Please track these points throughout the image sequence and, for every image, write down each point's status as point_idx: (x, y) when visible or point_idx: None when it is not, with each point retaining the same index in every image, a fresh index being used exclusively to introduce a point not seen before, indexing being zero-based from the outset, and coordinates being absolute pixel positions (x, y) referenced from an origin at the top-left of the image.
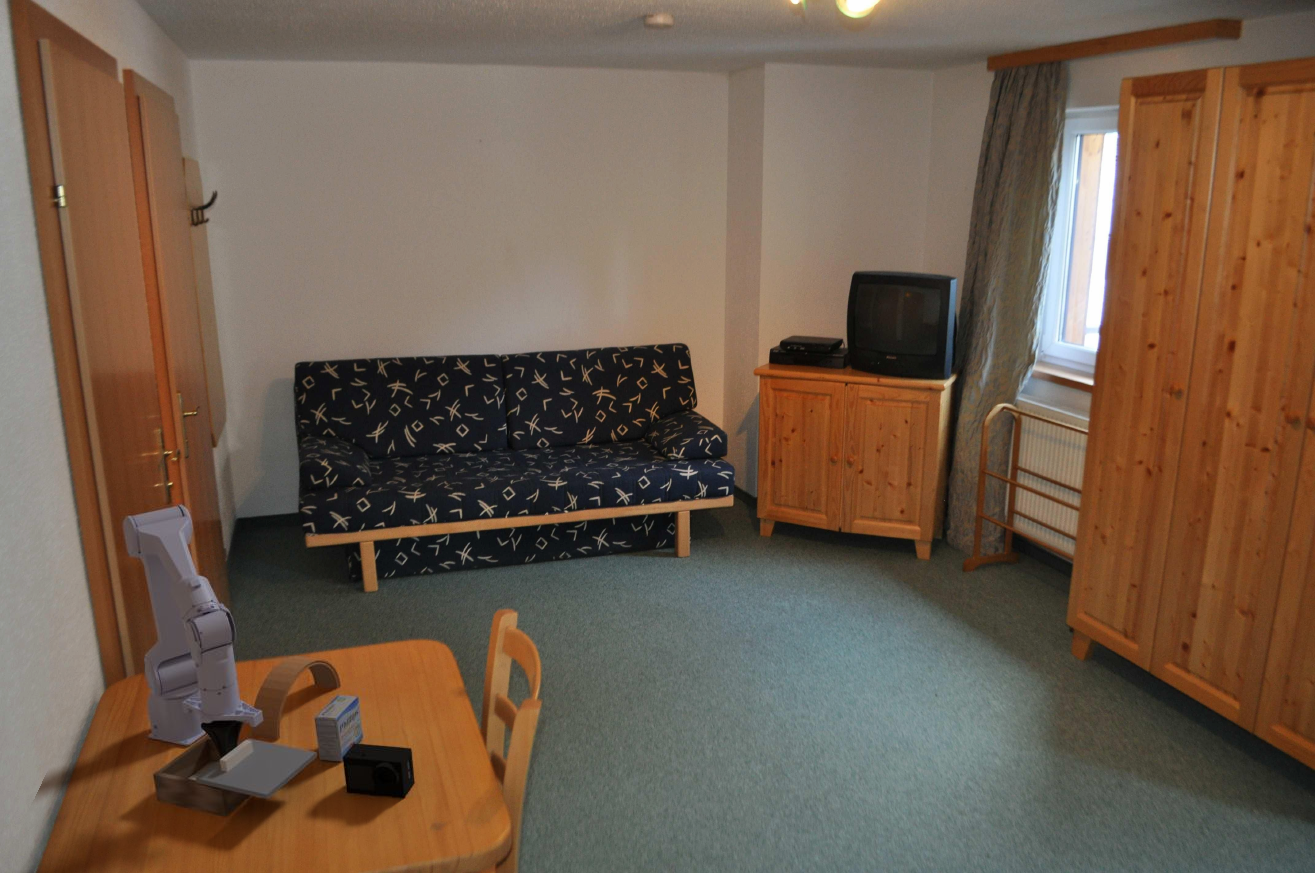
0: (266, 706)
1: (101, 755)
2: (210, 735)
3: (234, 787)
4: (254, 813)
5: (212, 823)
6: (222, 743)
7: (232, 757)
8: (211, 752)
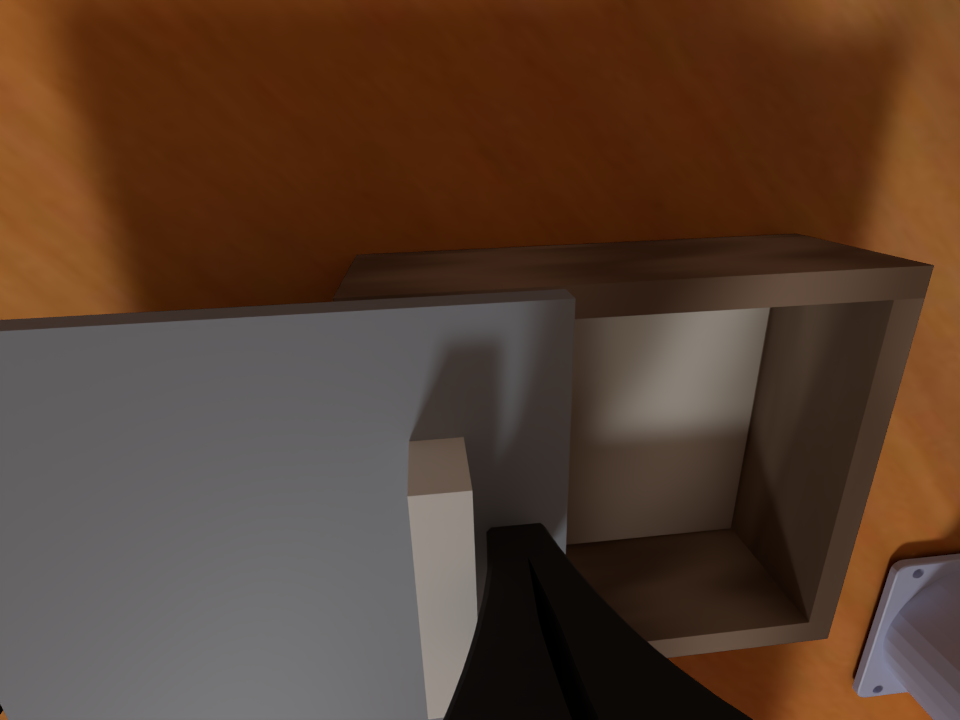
0: None
1: None
2: (659, 681)
3: (183, 320)
4: None
5: (379, 185)
6: (506, 635)
7: (413, 548)
8: (748, 561)
